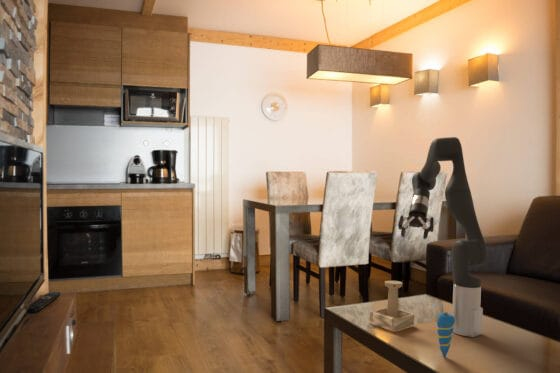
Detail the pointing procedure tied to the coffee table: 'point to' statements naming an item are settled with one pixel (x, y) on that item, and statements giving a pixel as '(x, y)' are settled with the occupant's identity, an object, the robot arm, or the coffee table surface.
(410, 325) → the socket block
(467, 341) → the coffee table surface
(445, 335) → the ornament
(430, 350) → the coffee table surface
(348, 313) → the coffee table surface
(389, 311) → the handle
